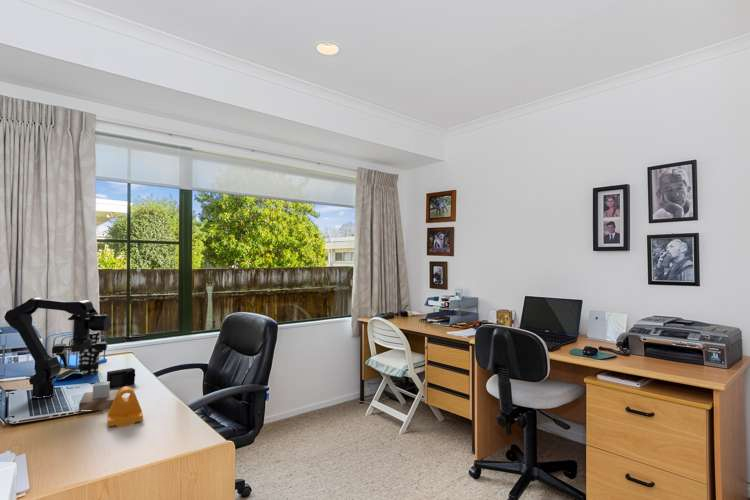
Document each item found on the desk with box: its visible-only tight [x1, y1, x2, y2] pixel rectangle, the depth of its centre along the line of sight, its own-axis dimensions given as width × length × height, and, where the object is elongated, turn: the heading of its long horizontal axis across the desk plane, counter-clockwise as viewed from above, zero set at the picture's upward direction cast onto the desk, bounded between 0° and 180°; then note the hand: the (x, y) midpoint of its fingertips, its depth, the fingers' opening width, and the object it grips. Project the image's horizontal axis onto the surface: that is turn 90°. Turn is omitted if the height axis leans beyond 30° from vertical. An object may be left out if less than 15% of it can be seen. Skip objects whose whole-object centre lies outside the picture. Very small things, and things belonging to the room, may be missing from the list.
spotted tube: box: [77, 330, 101, 376], centre depth 211 cm, size 8×8×20 cm
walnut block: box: [78, 389, 120, 412], centre depth 170 cm, size 13×13×4 cm
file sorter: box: [44, 331, 108, 370], centre depth 228 cm, size 25×17×15 cm
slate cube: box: [92, 380, 111, 399], centre depth 169 cm, size 5×5×5 cm
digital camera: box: [106, 367, 136, 390], centre depth 193 cm, size 10×5×7 cm, turn 139°
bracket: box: [106, 385, 144, 428], centre depth 154 cm, size 11×7×12 cm, turn 124°
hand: (79, 367), depth 178 cm, fingers open, 9 cm apart
